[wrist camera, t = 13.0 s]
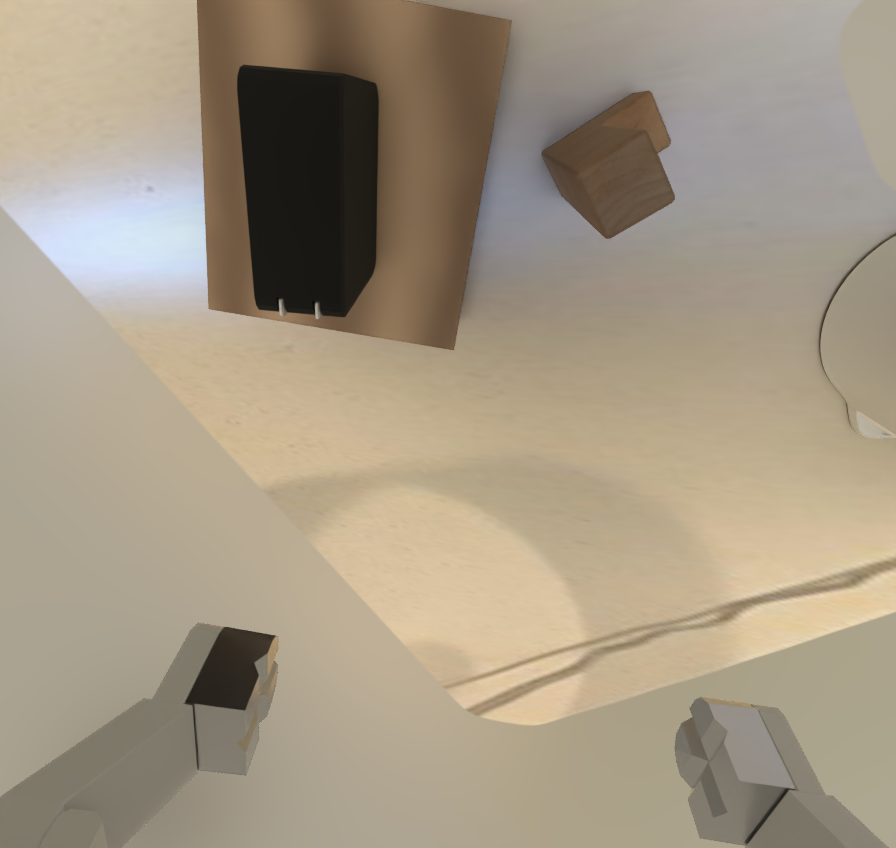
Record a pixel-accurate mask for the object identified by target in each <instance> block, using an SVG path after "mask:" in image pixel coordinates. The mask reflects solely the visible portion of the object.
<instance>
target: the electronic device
mask: <svg viewBox="0 0 896 848" xmlns="http://www.w3.org/2000/svg"><path fill="white" fill-rule="evenodd" d="M237 95H238V107H239V119H240V131H241V143H242V155H243V167H244V179H245V191H246V203H247V215H248V227H249V239H250V251H251V263H252V275H253V287H254V297H255V303H256V306H257V307H258V309H259V310H265V311H276V312H280V316H285V315H286V314H287V313H299V314H310V315H315V318H316V319H320V318H321V317H322V316H333V317H346V315H347V314H348V312H349V311H350V309H351V308H352V306H353V305H354V303H355V302H356V300H357V299H358V297H359V296H360V294H361V292H362V291H363V289H364V288H365V286H366V285H367V283H368V282H369V280H370V279H371V277H372V276H373V273H374V269H375V264H376V229H377V172H378V114H379V98H378V90H377V85H376V83H373V82H370V81H367V80H364V79H361V78H357V77H354V76H351V75H348V74H344V73H335V72H324V71H312V70H301V69H289V68H278V67H266V66H255V65H242V66H241V67H240V68H239V72H238V76H237Z"/></svg>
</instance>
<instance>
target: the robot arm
mask: <svg viewBox="0 0 896 848" xmlns="http://www.w3.org/2000/svg"><path fill="white" fill-rule="evenodd" d="M820 350H821V359H822V363H823V367H824V370H825V372H826V374H827V376H828V378H829V380H830V381H831V383H832V384H833V386H834V387H835V388H836V389H837V390H838V391H839V392H840V394H841V395H842V396H843V397H844V399H845V401H846V402H847V407H848V414H849V420H850V424H851V426H852V428H853V429H854V431H856V432H857V433H859V434H861V435H862V436H864V437H867V438H896V236H894V237H892V238H891V239H889V240H888V241H886V242H885V243H883V244H882V245H881V246H879V247H878V248H877V249H875V250H874V251H873V252H872V253H870V254H869V255H868V256H867V257H866V258H865V259H864V260H863V261H862V262H861V263H860V264H859V265H858V266H857V267H856V268H855V269H854V270H853V271H852V272H851V274H850V275H849V276H848V277H847V279H846V280H845V281H844V283H843V284H842V285H841V287H840V288H839V290H838V292H837V293H836V295H835V297H834V299H833V300H832V302H831V304H830V307H829V309H828V311H827V314H826V317H825V320H824V323H823V328H822V333H821V342H820ZM277 651H278V636H275V635H269V634H263V633H257V632H252V631H246V630H240V629H235V628H229V627H222V626H216V625H210V624H204V623H197V624H196V625H195V626H194V627H193V628H192V630H190V632H189V634H188V636H187V638H186V639H185V641H184V643H183V645H182V647H181V648H180V650H179V652H178V654H177V656H176V658H175V659H174V661H173V663H172V665H171V666H170V668H169V670H168V672H167V673H166V675H165V677H164V679H163V681H162V682H161V684H160V686H159V688H158V690H157V691H156V693H155V695H154V697H153V699H146V698H143V699H142V700H141V701H139V702H138V703H136V704H135V705H133V706H132V707H130V708H129V709H128V710H126V711H125V712H123V713H122V714H120V715H119V716H117V717H116V718H114V719H113V720H111V721H110V722H108V723H107V724H105V725H104V726H103V727H101V728H100V729H98V730H97V731H95V732H94V733H92V734H91V735H89V736H88V737H86V738H85V739H84V740H82V741H81V742H79V743H78V744H76V745H75V746H74V747H72V748H70V749H69V750H68V751H66V752H65V753H63V754H62V755H60V756H59V757H57V758H56V759H54V760H53V761H52V762H50V763H48V764H47V765H46V766H44V767H43V768H41V769H40V770H38V771H37V772H36V773H34V774H32V775H31V776H30V777H28V778H27V779H25V780H24V781H22V782H21V783H19V784H18V785H16V786H15V787H13V788H12V789H11V790H9V791H8V792H6V793H5V794H3V795H2V796H1V797H0V848H121V847H123V845H125V844H126V843H127V842H128V841H129V840H130V839H131V838H132V837H133V836H134V835H135V834H136V833H137V832H138V831H139V830H140V829H141V828H142V827H143V826H144V825H145V824H146V823H147V822H148V821H149V820H150V819H151V818H152V817H153V816H154V815H155V814H157V813H158V812H159V810H161V809H162V808H163V807H164V806H165V805H166V804H167V803H168V802H169V801H170V800H171V799H172V798H173V797H174V796H175V795H176V794H177V793H178V792H179V791H180V790H181V789H182V788H183V787H184V786H185V785H186V784H187V783H188V782H189V781H191V780H192V778H194V777H195V776H196V775H197V773H198V772H197V770H200V771H209V772H218V773H228V774H238V775H246V774H247V771H248V768H249V766H250V763H251V760H252V757H253V754H254V751H255V749H256V746H257V743H258V740H259V723H260V722H261V721H262V720H263V719H264V718H265V717H267V714H268V711H269V708H270V705H271V703H272V699H273V695H274V691H275V687H276V681H277V674H278V664H277V663H276V662H275V661H274V659H275V656H276V654H277ZM690 711H691V713H692V718H690V719H688V720H686V721H684V722H683V723H681V725H680V727H679V729H678V731H677V734H676V740H675V756H676V762H677V766H678V769H679V772H680V775H681V777H682V778H683V779H684V780H685V781H686V782H687V783H688V784H689V786H690V787H691V788H692V790H691V793H690V795H689V798H688V802H689V805H690V808H691V812H692V815H693V818H694V821H695V824H696V827H697V831H698V834H699V837H700V838H703V839H708V840H714V841H720V842H726V843H732V844H738V845H744V846H746V847H745V848H888V847H887V846H886V845H885V844H884V843H883V842H882V841H881V840H880V839H879V838H878V837H877V836H875V835H874V834H873V833H872V832H871V831H870V830H869V829H868V828H867V827H866V826H865V825H864V824H863V823H862V822H860V820H858V819H857V818H856V817H855V816H854V815H853V814H852V813H851V812H850V811H849V810H848V809H847V808H846V807H844V806H843V805H842V804H841V803H840V802H839V801H838V800H837V799H836V798H835V797H834V796H830V795H825V793H824V791H823V789H822V787H821V785H820V783H819V781H818V779H817V777H816V775H815V773H814V771H813V769H812V768H811V766H810V764H809V762H808V760H807V758H806V756H805V754H804V752H803V750H802V748H801V746H800V744H799V742H798V741H797V739H796V737H795V735H794V733H793V731H792V729H791V727H790V725H789V723H788V721H787V719H786V717H785V716H784V714H783V713H782V712H781V711H780V710H779V709H778V708H772V707H766V706H759V705H750V704H748V703H742V702H735V701H727V700H719V699H711V698H704V697H700V698H698V699H696V700H694V702H693V704H692V705H691V707H690Z"/></svg>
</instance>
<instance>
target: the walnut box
mask: <svg viewBox="0 0 896 848" xmlns="http://www.w3.org/2000/svg"><path fill="white" fill-rule="evenodd" d="M197 13H198V40H199V66H200V92H201V119H202V145H203V171H204V198H205V224H206V250H207V277H208V303H209V309H211V310H217V311H223V312H229V313H235V314H241V315H247V316H253V317H259V318H265V319H271V320H277V321H283V322H289V323H295V324H301V325H307V326H313V327H319V328H325V329H331V330H336V331H342V332H348V333H354V334H360V335H366V336H372V337H378V338H384V339H390V340H396V341H402V342H408V343H414V344H420V345H426V346H432V347H438V348H444V349H450V350H454V346H455V341H456V335H457V329H458V324H459V318H460V312H461V307H462V301H463V295H464V290H465V284H466V278H467V273H468V267H469V261H470V255H471V250H472V244H473V238H474V233H475V227H476V221H477V216H478V210H479V204H480V199H481V193H482V187H483V182H484V176H485V170H486V165H487V159H488V153H489V147H490V142H491V136H492V130H493V125H494V119H495V113H496V108H497V102H498V96H499V91H500V85H501V79H502V74H503V68H504V62H505V57H506V51H507V45H508V39H509V34H510V28H511V22H512V21H511V20H505V19H500V18H495V17H490V16H484V15H479V14H474V13H468V12H463V11H458V10H452V9H447V8H442V7H437V6H431V5H426V4H421V3H415V2H410V1H405V0H197ZM242 65H255V66H266V67H278V68H289V69H301V70H312V71H324V72H335V73H344V74H348V75H351V76H354V77H357V78H361V79H364V80H367V81H370V82H373V83H376V85H377V90H378V98H379V114H378V172H377V229H376V264H375V269H374V273H373V276H372V277H371V279H370V280H369V282H368V283H367V285H366V286H365V288H364V289H363V291H362V292H361V294H360V296H359V297H358V299H357V300H356V302H355V303H354V305H353V306H352V308H351V309H350V311H349V312H348V314H347V315H346V317H333V316H322V317H321V318H320V319H316V318H315V315H310V314H299V313H287V314H286V315H285V316H280V312H276V311H265V310H259V309H258V307H257V306H256V303H255V297H254V287H253V275H252V263H251V251H250V239H249V227H248V215H247V203H246V191H245V179H244V167H243V155H242V143H241V131H240V119H239V107H238V95H237V76H238V72H239V68H240V67H241V66H242Z"/></svg>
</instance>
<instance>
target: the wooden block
mask: <svg viewBox="0 0 896 848" xmlns="http://www.w3.org/2000/svg"><path fill="white" fill-rule="evenodd" d="M670 144H671V140H670V137H669V135H668V132H667V130H666V127H665V125H664V122H663V120H662V117H661V115H660V113H659V110H658V108H657V105H656V103H655V100H654V98H653V95H652V93H651V92H650V91H645V92H638V93H632V94H631V95H629V96H628V97H626V98H625V99H623V100H622V101H620V102H618V103H617V104H615V105H614V106H612V107H611V108H609V109H608V110H606V111H604V112H603V113H601V114H600V115H598V116H597V117H595V118H594V119H592V120H590V121H589V122H587V123H586V124H584V125H583V126H581V127H580V128H578V129H577V130H575V131H573V132H572V133H570V134H569V135H567V136H566V137H564V138H563V139H561V140H560V141H558V142H556V143H555V144H553V145H552V146H550V147H549V148H547V149H546V150H544V151H543V152H542V157H543V159H544V161H545V163H546V165H547V167H548V170H549V172H550V174H551V176H552V178H553V180H554V182H555V184H556V186H557V188H558V190H559V192H560V194H561V196H562V197H563V198H564V199H565V200H566V201H567V202H568V203H569V204H570V205H571V206H573V207H574V208H575V209H576V210H577V211H578V212H579V213H580V214H581V215H582V216H583V217H584V218H585V219H586V220H587V221H588V222H589V223H590V224H591V225H592V226H593V227H594V228H595V229H596V230H597V231H598V232H600V233H601V234H602V235H603V236H604V237H605V238H606V239H609V238H612V237H614V236H615V235H617V234H619V233H620V232H622V231H624V230H626V229H627V228H629V227H631V226H633V225H634V224H636V223H638V222H640V221H641V220H643V219H645V218H646V217H648V216H650V215H652V214H653V213H655V212H657V211H659V210H660V209H662V208H664V207H666V206H667V205H669V204H671V203H672V202H673V201H674V200H675V195H674V193H673V190H672V188H671V185H670V183H669V180H668V178H667V176H666V173H665V171H664V168H663V166H662V163H661V161H660V159H659V156H658V154H657V153H658V152H660V151H662V150H663V149H665V148H667V147H668V146H669V145H670Z"/></svg>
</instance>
